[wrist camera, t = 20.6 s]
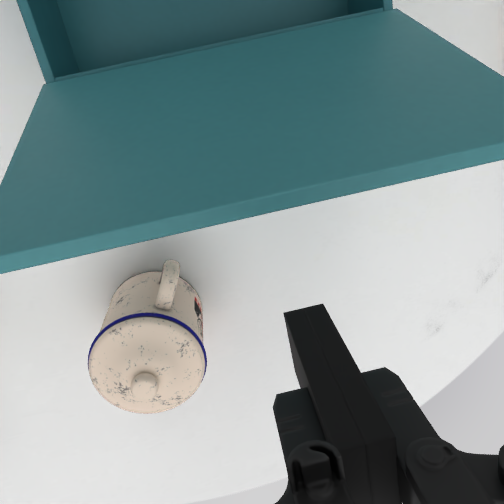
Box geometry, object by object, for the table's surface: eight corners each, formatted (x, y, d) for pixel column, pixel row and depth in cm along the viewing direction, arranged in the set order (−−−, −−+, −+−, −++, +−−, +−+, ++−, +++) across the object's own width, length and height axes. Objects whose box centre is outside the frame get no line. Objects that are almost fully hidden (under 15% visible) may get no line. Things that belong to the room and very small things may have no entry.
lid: (-35, 264, 15) (-22, 280, 16) (581, 125, 16) (573, 144, 17) (43, 84, 27) (48, 96, 28) (397, 7, 28) (396, 21, 28)
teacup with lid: (191, 358, 45) (189, 448, 34) (99, 341, 43) (67, 430, 33) (224, 252, 41) (234, 316, 31) (125, 227, 39) (98, 286, 29)
